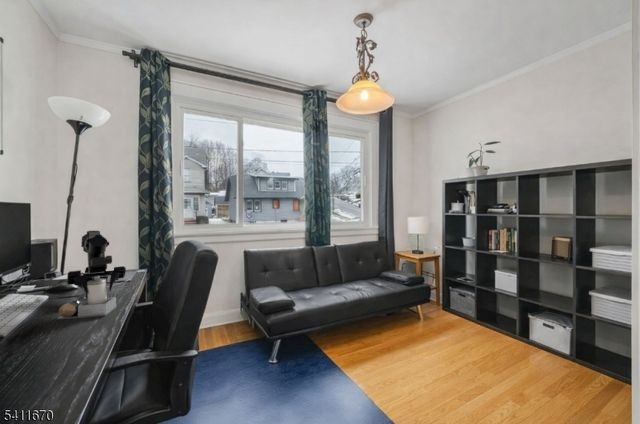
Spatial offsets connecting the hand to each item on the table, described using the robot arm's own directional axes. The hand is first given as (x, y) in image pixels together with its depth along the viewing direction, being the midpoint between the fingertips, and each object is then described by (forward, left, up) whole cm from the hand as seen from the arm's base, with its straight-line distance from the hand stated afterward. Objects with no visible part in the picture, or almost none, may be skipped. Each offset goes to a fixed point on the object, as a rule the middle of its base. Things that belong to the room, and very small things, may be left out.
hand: (98, 292), depth 109 cm
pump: (-1, -1, -8) cm, 8 cm away
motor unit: (-1, -4, -9) cm, 10 cm away
